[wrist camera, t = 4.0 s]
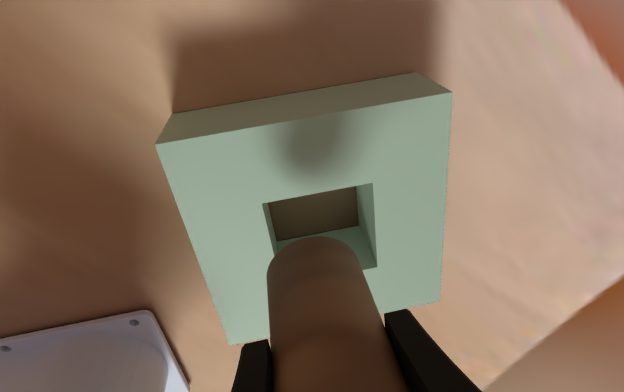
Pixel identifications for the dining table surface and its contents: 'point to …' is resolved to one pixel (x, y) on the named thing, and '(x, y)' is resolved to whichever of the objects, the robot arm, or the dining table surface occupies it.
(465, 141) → the dining table surface
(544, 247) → the dining table surface
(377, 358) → the walnut peg
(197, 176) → the socket block
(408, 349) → the robot arm
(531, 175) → the dining table surface
